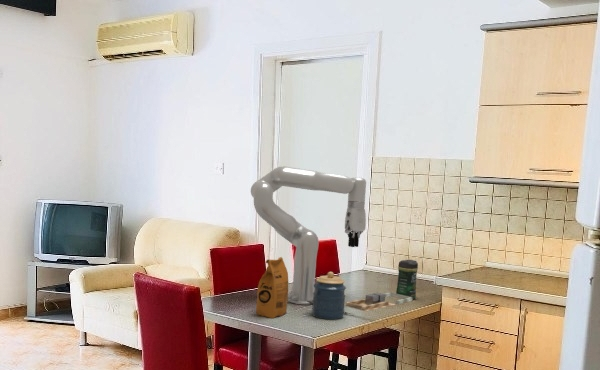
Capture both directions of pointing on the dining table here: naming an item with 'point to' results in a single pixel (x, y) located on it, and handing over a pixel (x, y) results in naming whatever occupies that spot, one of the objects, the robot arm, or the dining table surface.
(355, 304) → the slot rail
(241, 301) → the dining table surface
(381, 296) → the grey cube
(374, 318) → the dining table surface
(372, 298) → the gray cube
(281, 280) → the coffee package
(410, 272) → the coffee jar
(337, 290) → the canister
